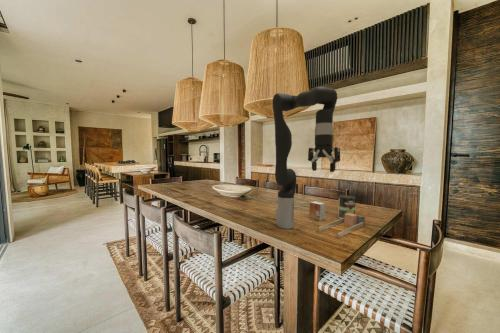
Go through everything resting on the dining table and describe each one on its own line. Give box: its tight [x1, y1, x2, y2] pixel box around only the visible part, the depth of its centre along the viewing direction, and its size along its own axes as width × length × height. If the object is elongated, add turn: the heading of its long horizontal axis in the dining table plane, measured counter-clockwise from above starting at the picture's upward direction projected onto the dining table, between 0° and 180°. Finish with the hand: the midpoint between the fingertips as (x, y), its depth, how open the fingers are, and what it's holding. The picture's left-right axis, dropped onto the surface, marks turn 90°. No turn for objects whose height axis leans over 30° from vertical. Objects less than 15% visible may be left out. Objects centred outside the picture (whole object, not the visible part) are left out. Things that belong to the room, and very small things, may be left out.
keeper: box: [344, 213, 357, 227], centre depth 125 cm, size 5×5×6 cm
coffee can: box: [337, 194, 357, 219], centre depth 138 cm, size 10×10×14 cm
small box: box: [308, 200, 326, 221], centre depth 136 cm, size 8×6×10 cm
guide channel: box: [317, 213, 366, 239], centre depth 119 cm, size 12×30×5 cm, turn 129°
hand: (323, 171), depth 93 cm, fingers open, 8 cm apart
